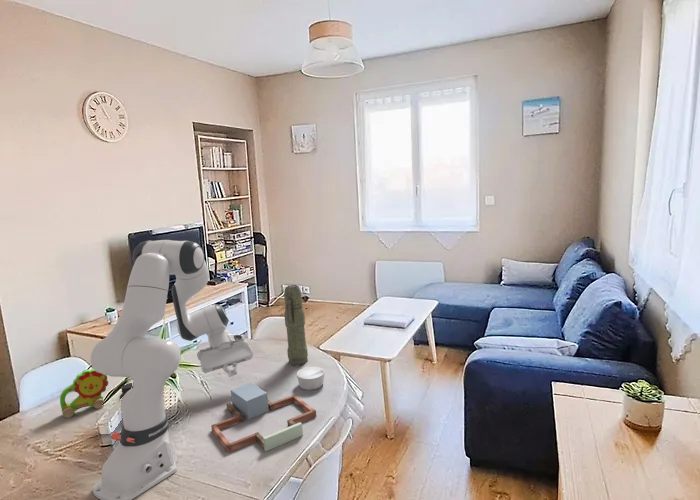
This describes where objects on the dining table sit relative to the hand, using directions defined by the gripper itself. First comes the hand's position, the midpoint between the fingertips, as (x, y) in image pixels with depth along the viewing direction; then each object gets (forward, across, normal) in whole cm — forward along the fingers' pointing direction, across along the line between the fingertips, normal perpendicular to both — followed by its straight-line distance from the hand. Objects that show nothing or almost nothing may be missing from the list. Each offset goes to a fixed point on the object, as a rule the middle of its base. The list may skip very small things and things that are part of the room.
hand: (233, 375), depth 167 cm
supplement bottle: (-1, -35, +13) cm, 37 cm away
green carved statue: (-2, +34, +13) cm, 36 cm away
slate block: (+16, 0, -4) cm, 17 cm away
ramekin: (+15, +27, -3) cm, 31 cm away
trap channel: (+23, 0, -11) cm, 26 cm away
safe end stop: (+35, 0, -23) cm, 42 cm away
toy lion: (-14, -47, +26) cm, 56 cm away
